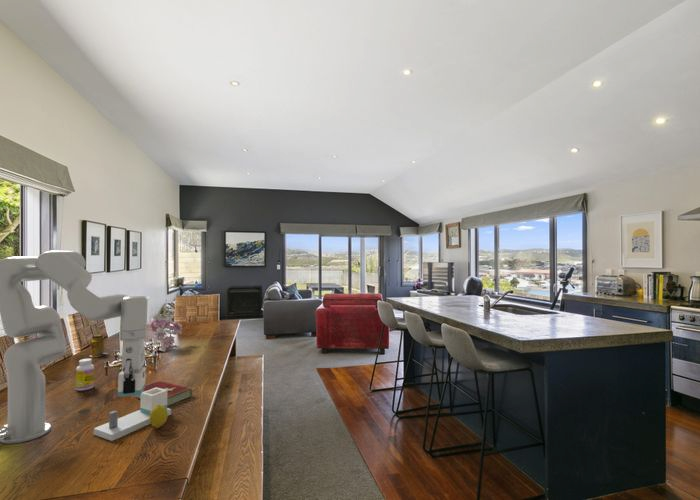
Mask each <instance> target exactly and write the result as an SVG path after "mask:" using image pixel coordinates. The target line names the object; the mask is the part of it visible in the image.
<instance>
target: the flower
mask: <svg viewBox="0 0 700 500" xmlns="http://www.w3.org/2000/svg"><path fill="white" fill-rule="evenodd" d="M162 315H163V314H162V313H160V314H158V312H157V313H155V314H154V315H153V316H152V317H151V318H150V320H151V321H147V324H148V328H149V329H151V332H152V333H154V335H155V336H156V337H155V340H156V341H158V342H159V341H160V342H161V343H162V347H160V348H159V350H158V351H161V352H163V353H166V351H167V347H173V346H174V345H173V344H175V343H176V342H175V338H176V337H175V336H176V335H177V334H178V335H179V334H181V335H182V334H183V332H182V330H183V325H182V324H181V323H179V322H176V321H172V320H173V319H172V317H167V315H166V316H165V318H164V316H162ZM167 334H168V336H167ZM173 335H175V336H173Z"/></svg>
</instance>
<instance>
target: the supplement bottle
mask: <svg viewBox="0 0 700 500" xmlns="http://www.w3.org/2000/svg"><path fill="white" fill-rule="evenodd" d="M92 360H93V359H92V358H83V359H80V360H79V361H78V366H77V367H76V368H75V390H76V391H81V392H82V391H87V390H90V389H93V388H94V386H95V366H94V364H93V363H92Z"/></svg>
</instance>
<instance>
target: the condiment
mask: <svg viewBox="0 0 700 500" xmlns="http://www.w3.org/2000/svg"><path fill="white" fill-rule="evenodd" d="M90 343H91V347H90V349H91V350H90V352H91V353H90V354H91V355H89V357H91V358H99V357H102V356H105V355H109V354H110V353H109V352H108V353H107V352H104V345H105V344H104V335H103V334H94V335H92V338H91V342H90Z"/></svg>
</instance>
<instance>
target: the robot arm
mask: <svg viewBox="0 0 700 500" xmlns="http://www.w3.org/2000/svg"><path fill="white" fill-rule="evenodd" d="M86 264H87V263H86V260H85V257H84V256H83V255H82V254H81V253H79V252H77V251H73V250H49V251H45V252H42V253H41V254H39V255H37V256H24V255H23V256H9V257H5V258H1V259H0V319H1V322H2V323H1V324H2V328H3V331H4V333H5V335H6V336H7V337H9V338H12V339H13V338H14V339H17V338H24V337H28V336H32V335H36V336H37V337H35V338H34V337H33V338H29V339H26V340H22V341H19V342H16V343H14V344H12V345H11V346H9V347H8V348H7V349H6V350H5V352H4V354H3V362H4V366H5V371H6V376H7V377H6V378H7V421H6V422H7V423H6V424H3V428H1V429H0V442H1V443H3V444H19V443H20V444H21V443H25V442H28V441H32V440H35V439H37V438H40V437H43V436H44V435H46V434H47V433H49V432H50V430H51V428H52V427H51V426H52V425H51V424H50V423H48V422H46V376H45V373H44V372H43V370H41V368H40V366H42V365H45V364H48V363H52V362H54V361H56V360H57V361H58V360H59V359H60V358H62V357H63V356H64V355H65V353H66V349H67V342H66V338H65V337H66V336H65V333H64V328H63V324H62V321H61V317H60V314H59V313H58V311H57V310H56V309H54V307H53V306H50V305H38V306H34V305H35V304H34V303H33V300H32V299H33V298H32V295H31V293H30V292H29V290H28V288H26V286H24V285H23V284H22V282H31V281H32V282H34V281H45V280H51V281H52V282H53V283H55V284H57V286H60V287H61V288H62V289H63V290H65V292H67V293H66V295H67V300H68V302H69V304H70V307H72V308H73V309H74V310H75V311H76V312H77V313H79V314H80V315H82V316H83V317H84V318H86V319H88V320H91V321H95V322H101V321H106V320H110V319H115V318H119V317H120V320H119V321H120V326H119V341H121V342H122V349H121V351H122V352H121V371H123V372H124V379H123V394H127V393H134V392H135V380H134V376H135V370H136V371H139V370H140V369H141V368H142V367H144V365H145V362H146V356H145V355H146V352H145V347H146V346H145V339H147V333H148V331H147V328H148V327H147V326H148V323H147V322H148V299H147V297H145V296H142V295H128V294H120V293H119V294H117V293H116V294H111V295H110V294H109V295H103V296H102V295H101V296H98V295H96V294H95V293H93V292H92V291H90V289H88V286H89V285H90V284H91V282H92V280H93V275H92V274H91V272H90V271H88V270H87V269H85V268H86V266H87V265H86ZM130 369H133V370H130ZM130 373H132V375H131V374H130Z"/></svg>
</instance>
